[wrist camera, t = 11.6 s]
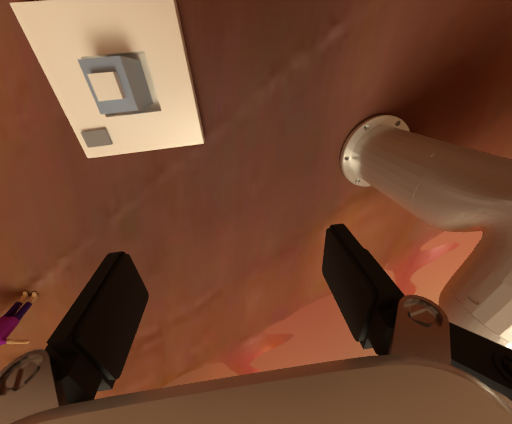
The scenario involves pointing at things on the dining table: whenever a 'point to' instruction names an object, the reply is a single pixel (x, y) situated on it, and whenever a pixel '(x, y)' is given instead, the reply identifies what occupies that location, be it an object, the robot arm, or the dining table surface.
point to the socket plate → (116, 44)
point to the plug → (116, 83)
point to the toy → (15, 318)
